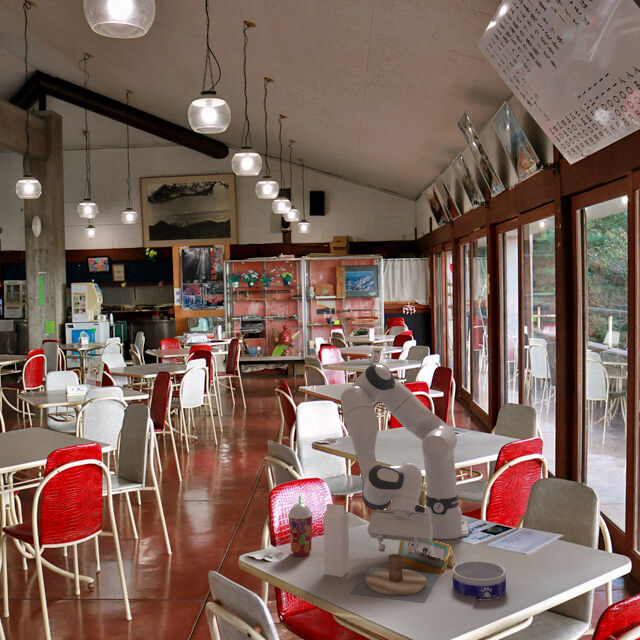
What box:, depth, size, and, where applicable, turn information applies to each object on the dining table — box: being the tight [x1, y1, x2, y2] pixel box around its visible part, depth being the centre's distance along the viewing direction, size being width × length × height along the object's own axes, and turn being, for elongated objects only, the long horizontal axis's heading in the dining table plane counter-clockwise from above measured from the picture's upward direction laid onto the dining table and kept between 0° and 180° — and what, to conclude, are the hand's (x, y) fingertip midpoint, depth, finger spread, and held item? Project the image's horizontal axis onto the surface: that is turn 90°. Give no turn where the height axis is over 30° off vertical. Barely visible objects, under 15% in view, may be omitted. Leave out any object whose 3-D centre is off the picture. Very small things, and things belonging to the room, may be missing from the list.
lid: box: [366, 553, 426, 596], centre depth 210 cm, size 18×18×8 cm
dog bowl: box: [451, 560, 507, 601], centre depth 206 cm, size 15×15×6 cm
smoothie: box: [287, 495, 313, 557], centre depth 241 cm, size 8×8×20 cm
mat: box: [349, 566, 441, 604], centre depth 210 cm, size 22×22×1 cm
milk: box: [322, 503, 351, 578], centre depth 221 cm, size 6×6×22 cm
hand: (396, 552), depth 214 cm, fingers open, 8 cm apart
